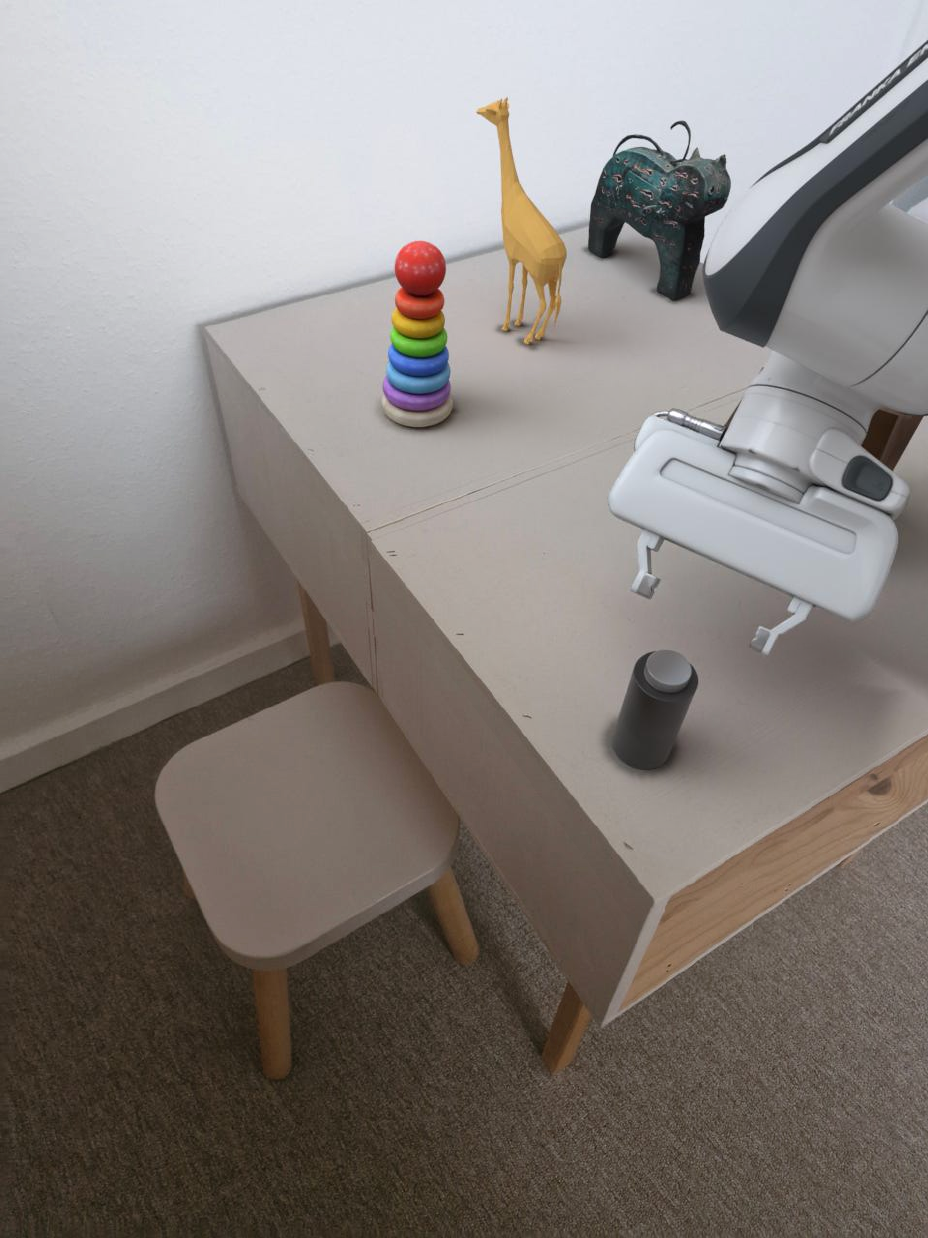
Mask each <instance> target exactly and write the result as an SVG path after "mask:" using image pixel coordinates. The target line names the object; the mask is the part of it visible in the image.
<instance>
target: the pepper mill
mask: <svg viewBox="0 0 928 1238" xmlns="http://www.w3.org/2000/svg"><path fill="white" fill-rule="evenodd" d="M698 686H699V677H698V673H697V670H696V669H695V667H694V666H693V665H692V664H691V662H689V660H688V659H687V658H686V657H685V656H684V655H683V654H681V653H679V652H677V651H675V650H670V649H659V650H654V651H650V652H647V653H645V654H643V655H642V656H640V657H639V658H638V659H637V660H636V662H635V663H634V666H633V670H632V673H631V676H630V680H629V683H628V685H627V688H626V691H625V694H624V699H623V701H622V705H621V708H620V711H619V714H618V716H617V720H616V722H615V723H616V724H615V727H614V730H613V733H612V737H611V745H612V748H613V751H614V753H615V754H616V756H617V757H618V759H619V760H621V761H622V762H623V763H624V764H625V765H628V766H629V767H632V768H634V769H637V770H653V769H656V768H659V767H661V766H662V765H663V764H665V762H667V760H668V758H669V756H670V754H671V752H672V749H673V747H674V745H675V742H676V739H677V737H678V735H679V733H680V731H681V728H682V725H683V723H684V721H685V719H686V716H687V713H688V710H689V709H690V706H691V704H692V702H693V699H694V697H695V694H696V692H697V689H698Z"/></svg>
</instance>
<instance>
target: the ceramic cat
mask: <svg viewBox="0 0 928 1238" xmlns="http://www.w3.org/2000/svg"><path fill="white" fill-rule="evenodd" d="M678 125H680V126H682V127H684V129H686V132H687V134H688V142H687V147H686V149H685V153H684V154H683V157H682V158H680V159H676V158H675V156H674V155H672V154H671V153H669V152H668V151H665V150H663V149H662V148H661V146H660V145H659V144H658V143H657V142H656V141H655V140H654V139H653V138H652V137H650V136H647V135H644V134H637V133H635V134H628V135H626V136H625V137H622V139H621V140H620V141H619V142H618V143H617V145H616V147H615V148H614V151H613V154H612V156H611V158H609V159H608V160H607V162H606V163H605V165H604V166H603V168H602V170H601V173H600V175H599V177H598V181H597V184H596V188H595V192H594V195H593V197H592V200H591V202H590V209H589V210H590V211H589V222H588V238H587V239H588V240H587V249H588V251H590V253H592V254H593V255H595V256H597V257H599V258H604V257H607V256H611V255H613V254H614V250H615V248H616V245H617V242H618V238H619V236H620V234H621V232H622V230H623V227H624V225H625V224H626V225H629V227H631V228H632V229H633V230H635V231H636V232H637V233H638V234H640V235H641V236H642V237H644V238H646V239H649V240H651V241H652V242H654V244H655V247H656V251H657V255H658V260H659V266H660V267H659V268H660V269H659V278H658V281H657V284H656V285H657V286H656V292H658V293H659V294H662V295H664V296H666V297H668V299H670V300H672V301H676V300H678V299H682V298H684V297H686V296H688V295H691V294H692V289H693V285H694V281H695V276H696V274H697V270H698V268H699V266H700V263H701V252H702V248H703V243H704V239H705V232H706V231H705V230H706V229H705V225H706V224H705V223H706V217H707V216H710V215H712V214H714V213H716V212H718V211H721V210H722V209H723V208H725V205H726V203H727V201H728V199H729V196H730V193H731V187H732V180H731V177H730V174H729V172H728V170H727V166H726V165H727V157H726V154H722V155H720V156H718V157H717V158H716V159H712V158H704V157H701V154H700V150H699V148H698V147H696V148H695V149H694V150H693V151H692V153H691V156H690V157H689V159H687V156H688V153H689V150H690V145H691V139H692V131H691V128H690V126H689V124H688V122H687V121H685V120H678V121H675V122H674V123H672V124H671V125H670V127H669V129H670V131H672V130H673V129H674V127H677V126H678ZM631 139H638V140H645V141H648V142H650V143H651V144H652V145H653V146H654V147H655V148H654V149H653V148H649V147H646V146H635V147H631V148H627V149H624V150H623V149H622V150H621V151H619V148H621V146H622V145H623V144H624V143H627V141H629V140H631ZM618 151H619V152H618Z"/></svg>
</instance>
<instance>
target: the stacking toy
mask: <svg viewBox="0 0 928 1238" xmlns="http://www.w3.org/2000/svg"><path fill="white" fill-rule="evenodd" d="M446 273H447V265H446V259H445V257H444V255H443V253H442V252H441V250H440V249H439V248H438V247H437V246H436V245H434V244H433V243H432V242H429V241H426V240H414V241H411V242H408V243H407V244H405V245H404V246H402V247H401V249H400V250H399V252H398V253H397V254H396V257H395V261H394V274H395V278H396V280H397V282H398V285H400V288H399V289H398V290H397V291H396V293H395V297H394V305H395V309H394V310H393V311H392V314H391V324H392V328H391V330H390V335H389V337H390V342H391V343H390V345H389V347H388V350H387V358H388V362H387V364H386V368H385V376H384V378H383V382H382V392H383V394H382V395H381V402H380V403H381V408H382V411H383V412H384V414H385V415H386V416H387V417H388V419H390V420H391V421H393V422H394V423H397V424H399V425H402V426H406V427H412V428H424V427H430V426H434V425H438V424H440V423H441V422H443V421H444V420H445V419H446V418H448V416H449V415H451V412H452V411H453V408H454V407H453V406H454V399H453V396H452V394H451V389H452V388H451V387H452V386H451V382H450V377H451V373H452V372H451V365H450V364H449V358H450V352H449V349H448V346H447V343H448V333H447V330H446V329H445V323H446V318H445V314H444V312H443V311H442V310H443V309H444V307H445V306H444V305H445V297H444V294H443V292H442V291H441V290H440V289H439V288H440V287H441V286H442V285H443V283H444V281H445V277H446Z"/></svg>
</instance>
